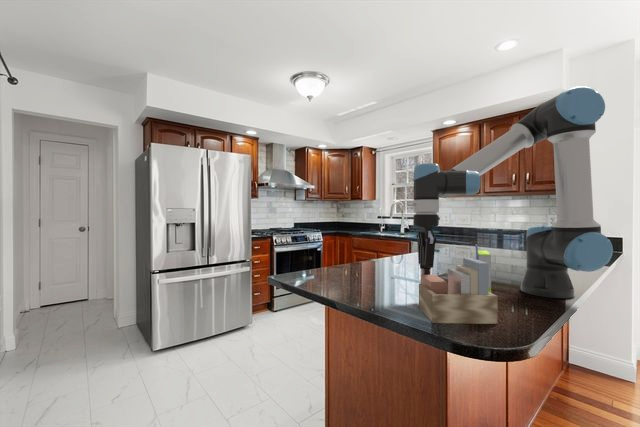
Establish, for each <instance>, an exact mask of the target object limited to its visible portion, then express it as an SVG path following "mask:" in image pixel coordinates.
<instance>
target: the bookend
mask: <svg viewBox="0 0 640 427" xmlns="http://www.w3.org/2000/svg"><path fill="white" fill-rule="evenodd" d="M447 294H466V295H470V275H469V274H466V273H464V272H462V271H460V270H458V269H456V268H448V269H447Z"/></svg>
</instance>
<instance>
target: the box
mask: <svg viewBox="0 0 640 427" xmlns="http://www.w3.org/2000/svg"><path fill="white" fill-rule="evenodd" d="M491 258H492V255H491V253H490V252H489V250H479V247H478V245H477V244H475V259H476V260H480V261H483V262H486V263H489V292H490V293H492V259H491Z"/></svg>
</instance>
